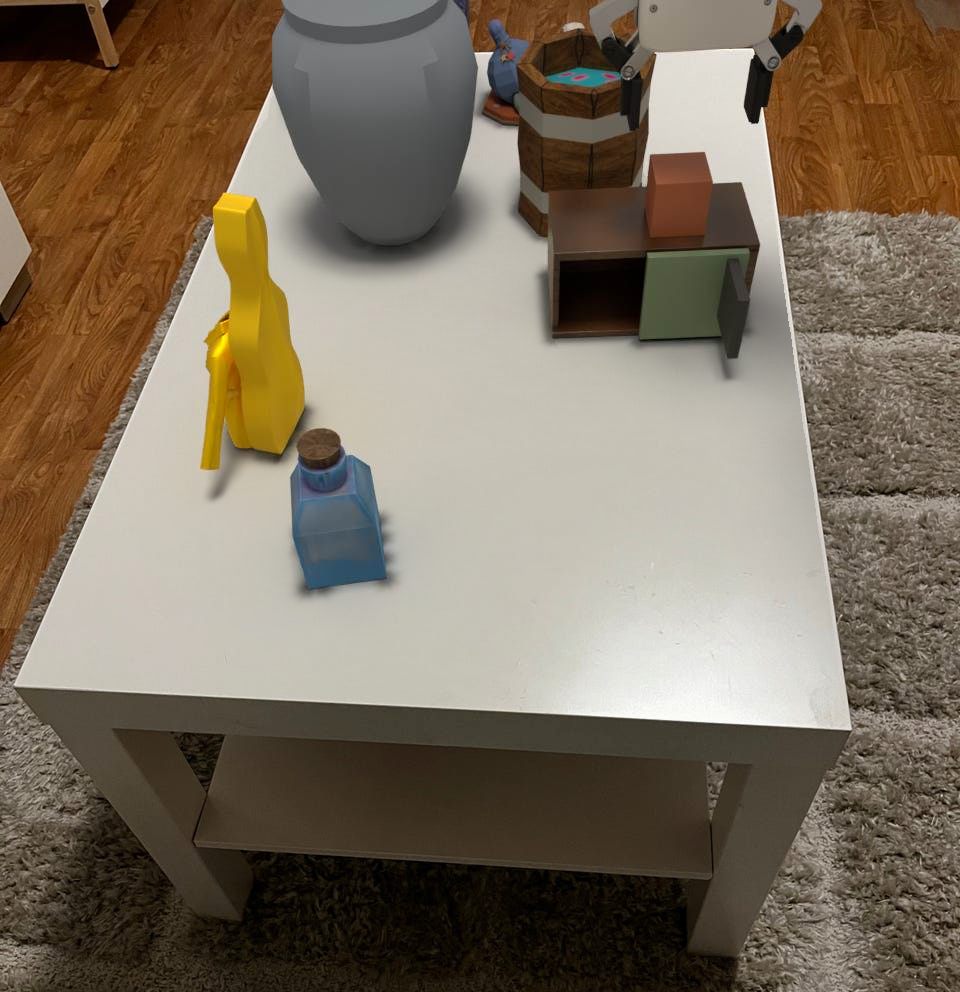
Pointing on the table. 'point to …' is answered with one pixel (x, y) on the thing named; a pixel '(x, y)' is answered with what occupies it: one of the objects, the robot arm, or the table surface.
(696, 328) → the door
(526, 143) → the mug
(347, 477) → the perfume bottle
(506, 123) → the model
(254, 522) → the table surface
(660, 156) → the block
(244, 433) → the figure statuette
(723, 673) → the table surface
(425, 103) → the vase
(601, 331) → the cabinet
